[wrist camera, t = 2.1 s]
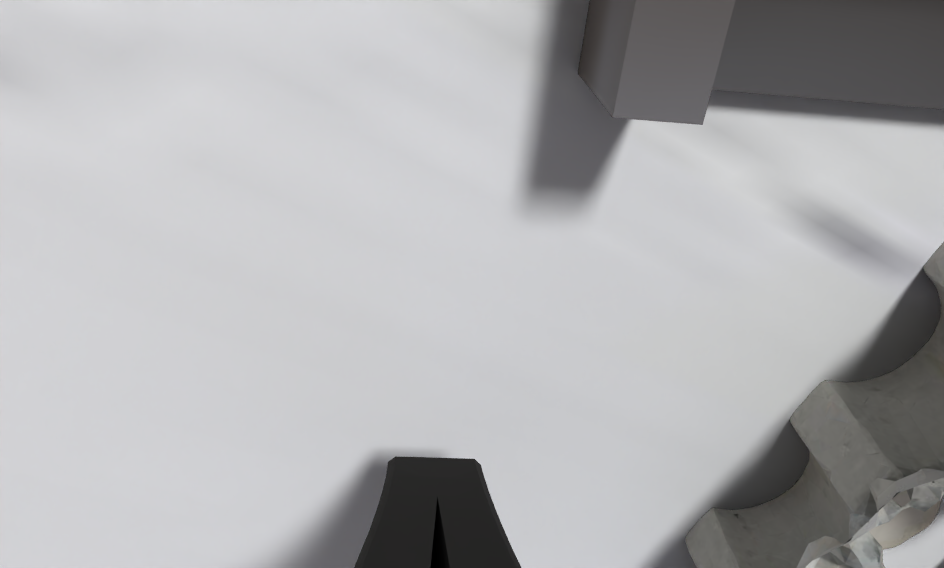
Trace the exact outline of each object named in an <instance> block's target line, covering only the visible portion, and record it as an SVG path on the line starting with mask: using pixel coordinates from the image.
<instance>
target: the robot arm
mask: <svg viewBox="0 0 944 568" xmlns="http://www.w3.org/2000/svg"><path fill="white" fill-rule="evenodd" d="M354 568H521V566H520V564H519V562H518V560H517V558H516V556H515V554H514V552H513V549H512V547H511V545H510V543H509V541H508V538H507V536H506V534H505V531H504V529H503V527H502V524H501V522H500V519H499V517H498V515H497V512H496V510H495V507H494V504H493V502H492V499H491V496H490V494H489V491H488V488H487V485H486V482H485V479H484V475H483V472H482V468H481V465H480V464H479V463H478V462H477V461H476V460H475V459H457V458H424V457H395V458H393V459H392V460H390V461H389V462H388V467H387V474H386V479H385V483H384V487H383V491H382V495H381V498H380V502H379V505H378V508H377V511H376V514H375V517H374V519H373V522H372V525H371V528H370V531H369V533H368V536H367V538H366V540H365V543H364V545H363V548H362V550H361V553H360V555H359V557H358V560H357V562H356V565H355V567H354Z"/></svg>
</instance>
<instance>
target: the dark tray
mask: <svg viewBox="0 0 944 568" xmlns="http://www.w3.org/2000/svg"><path fill="white" fill-rule="evenodd" d="M578 74H579V75H580V77H581V78H582V79H583V81H584V82H585V83H586V84H587V86H588V87H589V88H590V89H591V91H592V92H593V93H594V95H595V96H596V97H597V98H598V100H599V101H600V102H601V103H602V105H603V106H604V107H605V109H606V110H607V111H608V112H609V114H610V115H611V116H612V117H613V118H624V119H637V120H649V121H662V122H674V123H687V124H699V125H703V121H704V117H705V114H706V110H707V106H708V102H709V98H710V95H711V91H712V90H721V91H733V92H745V93H756V94H768V95H780V96H792V97H803V98H815V99H827V100H839V101H851V102H862V103H874V104H886V105H898V106H909V107H921V108H933V109H944V0H590V3H589V9H588V15H587V21H586V27H585V33H584V39H583V45H582V51H581V56H580V62H579V68H578Z"/></svg>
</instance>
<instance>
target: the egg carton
mask: <svg viewBox="0 0 944 568" xmlns="http://www.w3.org/2000/svg"><path fill="white" fill-rule="evenodd" d="M923 268H924V271H925V273H926V275H927V276H928V277H929V279H930V280H931V281H932V282H933V283H934V284H935V286H936V288H937V291H938V294H939V298H940V302H941V313H940V319H939V322H938V325H937V327H936V329H935V331H934V333H933V334H932V336H931V338H930V339H929V341H928V342H927V343H926V344H925V345H924V346H923V347H922V349H920V350H919V351H918V352H917V353H916V354H915V355H914V356H913V357H912V358H911V359H909V360H908V361H907V362H906V363H904V364H903V365H902V366H900V367H899V368H897V369H895V370H894V371H892V372H890V373H887V374H885V375H883V376H879V377H876V378H873V379H869V380H864V381H859V382H838V381H831V380H825V381H823V382H821V383H820V384H819V385H818V386H817V387H816V388H815V389H814V390H813V391H812V392H811V394H810V395H809V396H808V397H807V398H806V399H805V401H804V402H803V403H802V404H801V405H800V406H799V407H798V408H797V409H796V411H795V412H794V413H793V415H792V416H791V418H790V422H791V424H792V426H793V427H794V429H795V430H796V432H797V433H798V434H799V436H800V437H801V439H802V440H803V442H804V443H805V445H806V446H807V448H808V449H809V462H808V464H807V466H806V468H805V470H804V472H803V475H802V476H801V477H800V478H799V480H798V481H797V482H796V484H795V485H794V486H793V487H792V488H790V489H789V490H788V491H786V492H785V493H783V494H782V495H780V496H778V497H777V498H775V499H773V500H771V501H769V502H767V503H764V504H761V505H759V506H756V507H751V508H745V509H738V510H727V509H719V508H712V509H710V510H709V511H708V512H707V513H706V514H705V515H704V516H703V517H701V519H700V520H699V521H698V522H697V523H696V524H695V526H694V527H693V528H692V529H691V530H690V532H689V533H688V535H687V536H686V545H687V548H688V551H689V553H690V555H691V557H692V559H693V561H694V563H695V565H696V567H697V568H885V566H884V565H883V549H889V548H893V547H896V546H898V545H900V544H902V543H903V542H905V541H906V540H908V539H909V538H911V537H913V536H914V535H916V534H918V533H919V532H921V531H922V530H924V529H925V528H927V527H928V526H929V525H930V524H931V523H932V521H933V520H934V518H935V516H936V515H937V513H938V511H939V507H940V503H941V500H942V497H943V495H944V242H943V243H942V245H941V246H940V247H939V248H938V249H937V250H936V251H935V253H934V254H933V255H932V256H931V257H930V259H929V260H928V261H927V263H926V264H925V265H924V267H923Z"/></svg>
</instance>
